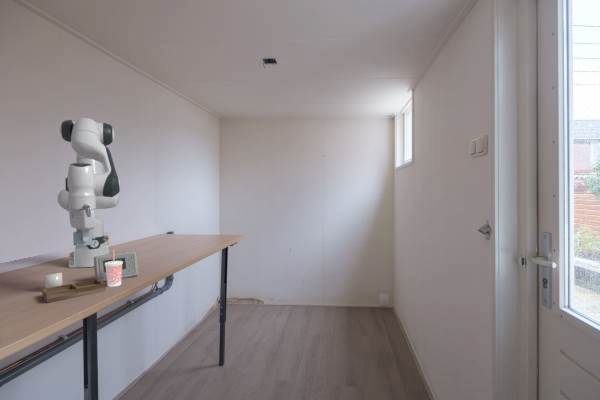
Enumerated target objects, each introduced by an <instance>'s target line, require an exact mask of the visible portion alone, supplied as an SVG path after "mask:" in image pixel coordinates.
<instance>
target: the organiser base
mask: <svg viewBox="0 0 600 400" xmlns="http://www.w3.org/2000/svg"><path fill="white" fill-rule="evenodd" d="M106 283H107V282H103V281H101V280H99V279H95V278H94V279H89V280H83V281H78V282H73V283H69V284H63V285H62V286H56V287H51V288H46V287H45V288H42V289H41V297H42V299H44V301H45V302H46V303H47V304H48V303H49V304H50V303H54V302H59V301H64V300H67V299H71V298H77V297H78V298H79V297H81V296H86V295H91V294H95V293H100V292H101V293H102V292H104V291H106V290H107V287H106V286H107V284H106Z"/></svg>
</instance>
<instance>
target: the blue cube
mask: <svg viewBox="0 0 600 400" xmlns="http://www.w3.org/2000/svg"><path fill="white" fill-rule="evenodd" d="M72 235H73V246H75V247H76V246H84V245H92V232H91V231H90V232H89V236H88V241H82V231H81V232H76V231H73V234H72Z"/></svg>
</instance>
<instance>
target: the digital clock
mask: <svg viewBox="0 0 600 400" xmlns="http://www.w3.org/2000/svg"><path fill="white" fill-rule="evenodd" d="M114 255H115V261H123V264H122V277H121V280H125V279H130V278H134V277H137V276H139V264H138V257H137V252H136V251H124V252H118V253H116V252H114ZM111 261H113V253H109V254H106V255H100V256H95V257H94V266H93V267H94V277H95V278H94V279H99V280H101V281H103V282H104V283H107V274H106V266H105V263H106V262H111Z"/></svg>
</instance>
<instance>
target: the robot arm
mask: <svg viewBox="0 0 600 400" xmlns="http://www.w3.org/2000/svg"><path fill="white" fill-rule="evenodd" d="M59 133H60V136H61V138H62V139H63V140H64V141H65V142H68V143H70V145H71V149H72V150H73V151H74V152H75V153H76V159H75V160H76V162H75V163H74V162H73V163H71V164H69V166H68V171H67V177H66V178H65V183H64V184H65V188H64V189H62V190H60V192H58V195H57V202H58V205H59V207H61V208H62V209H63V210H65V211H67V212H68V214H69V222H70V226H71V228H74V229H75V232H81V231H82V241H88V236H89V232H90V231H91V232H92V245H84V246H75V248H74V249H73V251H71V252H69V258H71V259H70V260H68V268H69V269H72V268H74V269H75V268H93V267H94V257H95V256H100V255H106V254H110V251H109V246H108V245H106V244H105V243H106V236H105V235H104V221H103V220H102V218H100V217H98V216H96V215H95V210H106V209H112V208H115V207H116V206H118V204H119V202H120V200H121V199H120V194H119V193H120V192H121V186H122V185H121V181H120V179H119V176H118V173H117V171H116V168H115V167H116V166H115V163H114V160H113V156H112V153H111V151H110V148H109V147H107V146H109V145H111V144H112V143H113V141H114V140H115V137H116V134H115V130H114V128H113V126H112V125H111V124H109V123H107V122H100V121H99V122H98V121H96V120H94V119H92V118H88V117H80V118H78V119H77V120H72V119H68V120H67V119H65V120H64V121H62V122H61V124H60V126H59Z"/></svg>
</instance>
